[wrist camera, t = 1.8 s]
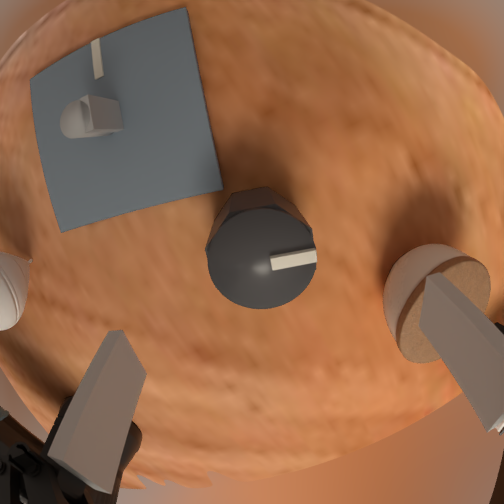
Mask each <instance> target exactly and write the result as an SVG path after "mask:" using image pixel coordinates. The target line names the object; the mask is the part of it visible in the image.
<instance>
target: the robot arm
mask: <svg viewBox="0 0 504 504" xmlns="http://www.w3.org/2000/svg"><path fill="white" fill-rule="evenodd" d="M418 326H419V328H420V329H421V330H422V332H423V333H424V334H425V336H426V337H427V339H428V340H429V341H430V343H431V344H432V346H433V347H434V348H435V350H436V351H437V353H438V354H439V356H440V357H441V358H442V360H443V361H444V363H445V364H446V366H447V367H448V369H449V370H450V372H451V373H452V375H453V376H454V378H455V379H456V381H457V383H458V384H459V386H460V387H461V389H462V390H463V392H464V393H465V395H466V397H467V399H468V400H469V402H470V403H471V405H472V407H473V409H474V410H475V412H476V414H477V415H478V417H479V419H480V421H481V422H482V424H483V426H484V428H485V430H486V431H487V432H489V431H490V430H492V429H493V428H495V427H496V426H498V425H499V424H500V423H501V422H502V421H503V420H504V326H503V325H501V324H499V323H498V322H497V323H495V324H493V323H492V322H491V321H490V320H489V319H488V318H487V317H486V316H485V315H484V314H483V313H482V312H481V311H480V310H479V309H478V308H477V307H476V306H475V305H474V304H473V303H472V302H471V301H470V300H469V299H468V298H467V297H466V296H465V295H464V294H463V293H462V292H461V291H460V290H459V289H458V288H457V287H456V286H454V285H453V284H452V283H451V282H450V281H449V280H448V279H447V278H446V277H445V276H443V275H442V274H441V273H440V272H439V273H435V274H432V275H428V276H426V283H425V290H424V297H423V303H422V309H421V315H420V320H419V325H418ZM146 375H147V373H146V371H145V369H144V368H143V366H142V364H141V363H140V361H139V359H138V357H137V356H136V354H135V352H134V350H133V349H132V347H131V345H130V343H129V341H128V339H127V338H126V336H125V334H124V332H123V330H117V331H109V332H108V333H107V335H106V337H105V339H104V340H103V342H102V344H101V346H100V347H99V349H98V351H97V353H96V355H95V356H94V358H93V360H92V362H91V364H90V366H89V368H88V369H87V371H86V373H85V375H84V377H83V379H82V381H81V383H80V385H79V387H78V389H77V391H76V393H75V395H74V396H71V397H67V398H66V399H65V400H64V401H63V404H62V406H61V408H60V411H59V414H58V418H56V420H55V422H54V425H53V427H52V429H51V431H50V433H49V435H48V438H47V440H46V442H45V443H44V442H43V441H41V440H40V439H39V438H37V437H36V436H35V435H33V434H32V433H31V432H30V431H28V430H27V429H26V428H25V427H24V426H22V425H21V424H20V423H19V422H18V421H17V420H15V419H14V418H13V417H12V416H11V415H10V414H9V412H8V411H7V410H4V409H3V408H2V407H1V406H0V504H24V503H25V504H116V502H117V497H118V492H119V487H120V483H121V478H122V474H123V471H124V469H125V468H126V467H127V465H128V464H129V462H130V461H131V460H132V458H133V456H134V455H135V453H136V452H137V451H138V450H139V448H140V445H141V441H142V434H141V432H140V430H139V429H138V428H137V426H136V425H135V424H134V423H132V422H131V421H132V418H133V415H134V411H135V408H136V405H137V402H138V399H139V396H140V393H141V390H142V387H143V384H144V381H145V378H146ZM503 433H504V427H503V428H502V429H501V431H500V434H499V435H502V434H503ZM22 502H23V503H22ZM489 504H504V451H503V457H502V461H501V465H500V469H499V473H498V477H497V481H496V485H495V488H494V491H493V494H492V497H491V500H490V503H489Z"/></svg>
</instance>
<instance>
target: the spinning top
mask: <svg viewBox="0 0 504 504" xmlns="http://www.w3.org/2000/svg"><path fill="white" fill-rule="evenodd" d="M32 261H33V260H32V259H30V260H29V261H26V260H25V259H23V258H20V257H18V256H15V255H12V254H8V253H5V252H0V331H1V330H7V329H9V328H11V327H13V326H14V325H15V324H16V323H17V322H18V320H19V319H20V317H21V316H22V313H23V311H24V307H25V303H26V299H27V295H28V285H29V271H30V269H29V264H30V263H31V262H32Z"/></svg>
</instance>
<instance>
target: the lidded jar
mask: <svg viewBox="0 0 504 504" xmlns="http://www.w3.org/2000/svg"><path fill="white" fill-rule="evenodd" d="M439 272H440V273H441V274H442V275H443V276H445V277H446V278H447V279H448V280H449V281H450V282H451V283H452V284H453V285H454V286H456V287H457V288H458V289H459V290H460V291H461V292H462V293H463V294H464V295H465V296H466V297H467V298H468V299H469V300H470V301H471V302H472V303H473V304H474V305H475V306H476V307H477V308H478V309H479V310H480V311H481V312H482V313H483V314H484V312H485V310H486V307H487V304H488V301H489V296H490V290H491V285H490V276H489V273H488V271H487V269H486V267H485V266H484V265H483V264H482V263H480V262H479V261H478V260H476V259H474V258H472V257H470V256H468V255H467V254H465V253H464V252H462V251H460V250H458V249H456V248H453V247H451V246H448V245H444V244H426V245H422V246H419V247H416V248H414V249H412V250H411V251H409V252H407V253H406V254H404V255H403V256H402V257H400V258H399V259H398V260H397V261H396V263H395V264H394V265H393V267H392V269H391V271H390V273H389V276H388V278H387V280H386V283H385V287H384V292H383V310H384V315H385V319H386V322H387V325H388V327H389V330H390V332H391V334H392V336H393V337H394V339H395V341H396V342H397V346H398V348H399V350H400V351H401V353H402V355H403V356H404V357H405V358H406V359H407V360H409V361H411V362H414V363H429V362H433V361H436V360H438V359H440V358H441V357H440V356H439V354H438V353H437V351H436V350H435V348H434V347H433V346H432V344H431V343H430V341H429V340H428V339H427V337H426V336H425V334H424V333H423V332H422V330H421V329H420V328H419V326H418V325H419V320H420V315H421V309H422V303H423V297H424V290H425V283H426V276H428V275H432V274H435V273H439Z"/></svg>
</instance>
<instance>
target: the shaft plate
mask: <svg viewBox="0 0 504 504" xmlns="http://www.w3.org/2000/svg"><path fill="white" fill-rule="evenodd" d="M30 89H31V101H32V110H33V118H34V125H35V132H36V138H37V143H38V149H39V154H40V159H41V163H42V168H43V172H44V176H45V180H46V184H47V188H48V192H49V195H50V199H51V202H52V206H53V209H54V212H55V216H56V219H57V222H58V225H59V228H60V231H61V233H62V232H65V231H68V230H72V229H75V228H78V227H81V226H84V225H87V224H91V223H94V222H97V221H101V220H104V219H107V218H111V217H114V216H118V215H121V214H125V213H129V212H132V211H136V210H140V209H144V208H147V207H151V206H155V205H159V204H163V203H167V202H171V201H175V200H180V199H184V198H188V197H192V196H197V195H201V194H206V193H210V192H215V191H220V190H223V188H224V186H223V182H222V177H221V172H220V168H219V163H218V158H217V154H216V149H215V144H214V140H213V135H212V130H211V125H210V121H209V116H208V111H207V106H206V101H205V96H204V91H203V87H202V82H201V77H200V72H199V67H198V62H197V57H196V51H195V46H194V41H193V36H192V31H191V26H190V20H189V15H188V11H187V9H186V7H184V8H180V9H177V10H173V11H170V12H166V13H163V14H160V15H157V16H154V17H151V18H148V19H145V20H142V21H140V22H137V23H134V24H132V25H129V26H127V27H124V28H122V29H120V30H117V31H115V32H113V33H110V34H108V35H106V36H104V37H102V38H97V39H95V40H93V41H91V43H89V44H87V45H86V46H84V47H82V48H80V49H78V50H76V51H74V52H73V53H71V54H69V55H67V56H66V57H64V58H62V59H60V60H59V61H57V62H56V63H54V64H52V65H51V66H49V67H48V68H46V69H45V70H43V71H41V72H40V73H39V74H37V75H36V76H34V77H33V78H31V79H30Z"/></svg>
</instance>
